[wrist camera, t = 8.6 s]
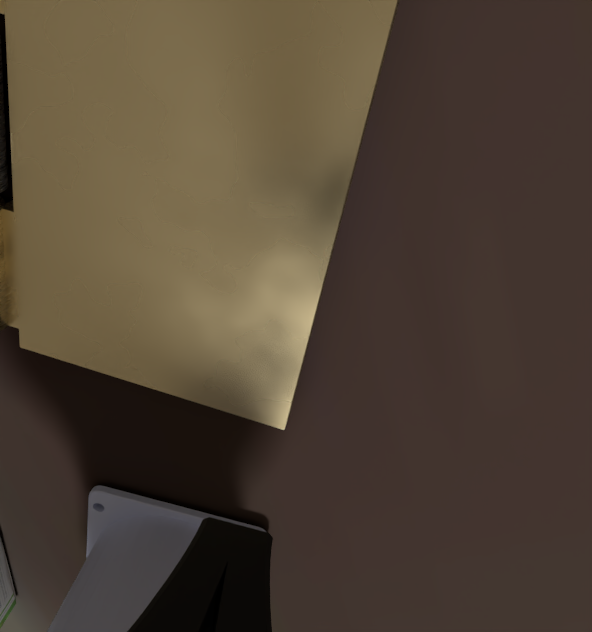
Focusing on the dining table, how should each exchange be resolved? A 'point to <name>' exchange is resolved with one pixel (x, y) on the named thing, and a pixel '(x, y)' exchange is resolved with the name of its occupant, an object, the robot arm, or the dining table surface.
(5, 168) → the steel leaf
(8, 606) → the syrup box
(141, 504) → the robot arm
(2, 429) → the dining table surface
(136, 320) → the brass leaf
